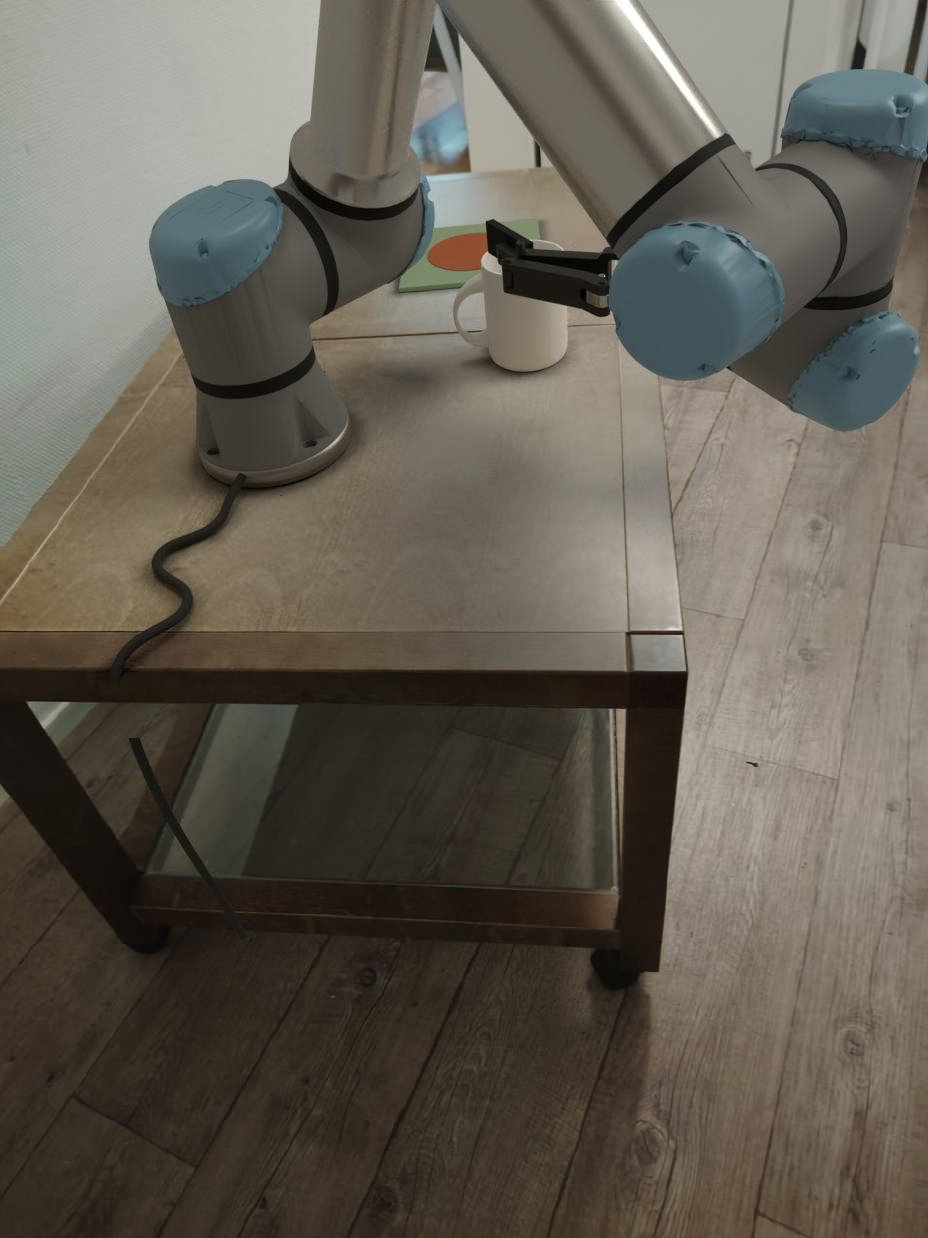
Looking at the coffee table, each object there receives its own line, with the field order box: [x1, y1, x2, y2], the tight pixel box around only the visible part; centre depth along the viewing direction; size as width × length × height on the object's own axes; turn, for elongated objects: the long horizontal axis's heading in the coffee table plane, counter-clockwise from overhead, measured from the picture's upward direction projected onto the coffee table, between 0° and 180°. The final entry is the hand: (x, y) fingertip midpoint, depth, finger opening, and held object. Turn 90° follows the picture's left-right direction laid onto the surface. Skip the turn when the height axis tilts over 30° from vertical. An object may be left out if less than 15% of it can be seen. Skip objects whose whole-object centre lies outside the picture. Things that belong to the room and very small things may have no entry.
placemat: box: [398, 218, 541, 293], centre depth 117 cm, size 18×18×1 cm
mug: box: [452, 239, 569, 373], centre depth 94 cm, size 9×12×11 cm
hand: (556, 213), depth 79 cm, fingers open, 13 cm apart
